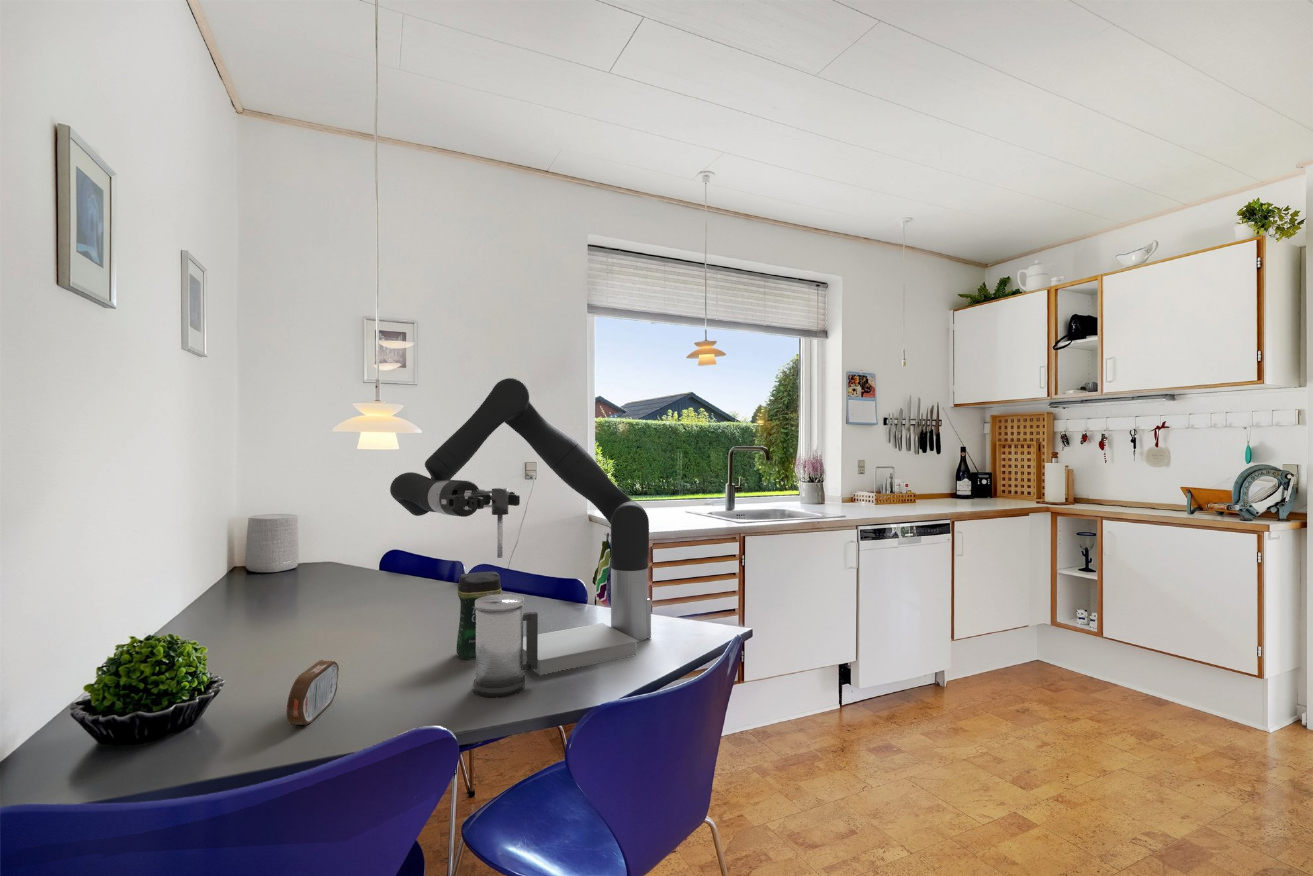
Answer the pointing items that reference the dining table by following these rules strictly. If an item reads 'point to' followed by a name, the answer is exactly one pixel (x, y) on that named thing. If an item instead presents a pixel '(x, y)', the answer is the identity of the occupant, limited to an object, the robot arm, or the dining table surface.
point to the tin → (312, 692)
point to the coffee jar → (473, 607)
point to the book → (580, 647)
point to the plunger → (499, 514)
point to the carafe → (503, 645)
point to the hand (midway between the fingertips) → (500, 501)
